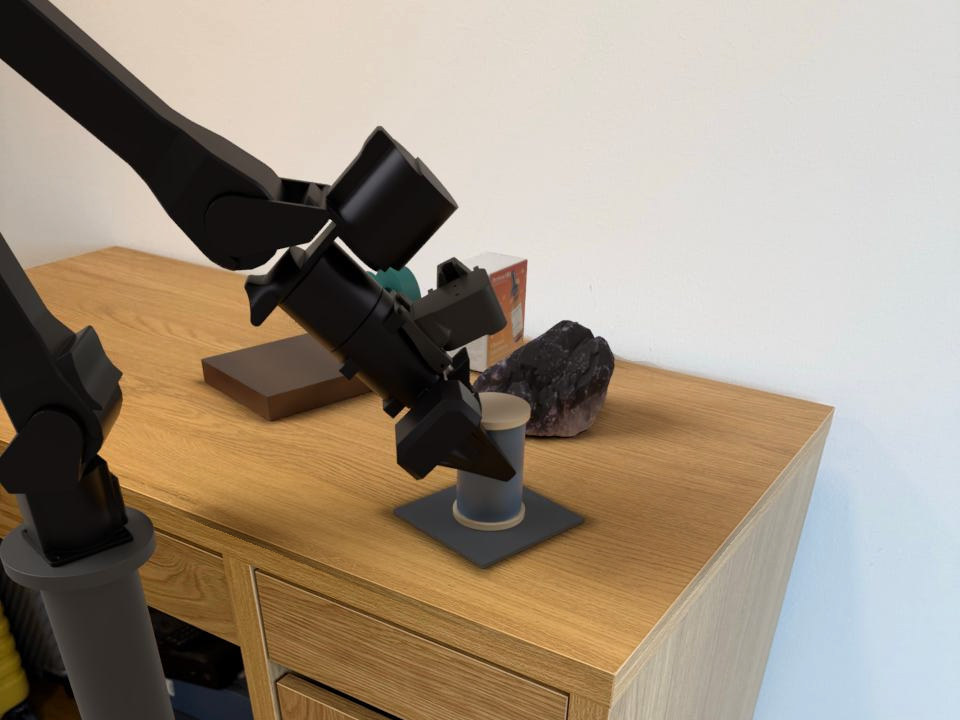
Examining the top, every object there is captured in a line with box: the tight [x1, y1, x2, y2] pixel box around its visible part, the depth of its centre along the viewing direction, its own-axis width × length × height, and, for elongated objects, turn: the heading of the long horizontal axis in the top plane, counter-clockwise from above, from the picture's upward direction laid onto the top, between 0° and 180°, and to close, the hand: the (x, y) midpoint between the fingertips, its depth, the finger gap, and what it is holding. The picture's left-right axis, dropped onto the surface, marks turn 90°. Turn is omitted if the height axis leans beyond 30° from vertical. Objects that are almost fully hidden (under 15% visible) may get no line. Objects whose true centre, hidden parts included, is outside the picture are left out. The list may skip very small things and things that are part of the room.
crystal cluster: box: [472, 319, 616, 437], centre depth 88 cm, size 13×14×10 cm
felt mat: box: [392, 483, 586, 570], centre depth 74 cm, size 11×11×1 cm
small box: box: [447, 250, 529, 373], centre depth 99 cm, size 8×6×10 cm
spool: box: [453, 392, 531, 531], centre depth 71 cm, size 6×6×9 cm
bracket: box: [365, 265, 422, 302], centre depth 108 cm, size 18×7×8 cm, turn 37°
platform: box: [200, 332, 374, 422], centre depth 95 cm, size 15×13×2 cm
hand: (507, 460), depth 71 cm, fingers closed on spool, 5 cm apart
